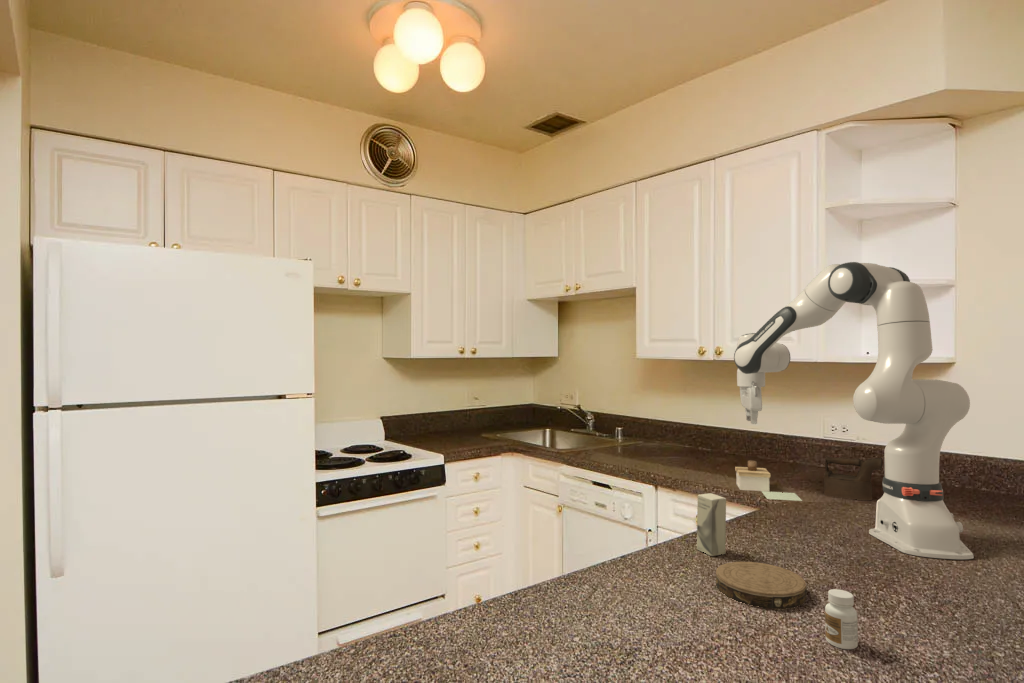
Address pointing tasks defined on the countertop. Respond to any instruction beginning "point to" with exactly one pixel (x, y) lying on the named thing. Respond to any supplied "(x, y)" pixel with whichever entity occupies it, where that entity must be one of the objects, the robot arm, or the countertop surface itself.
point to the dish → (752, 483)
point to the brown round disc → (761, 585)
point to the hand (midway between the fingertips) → (751, 422)
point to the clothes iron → (850, 478)
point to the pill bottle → (841, 620)
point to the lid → (752, 470)
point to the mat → (781, 496)
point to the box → (711, 524)
